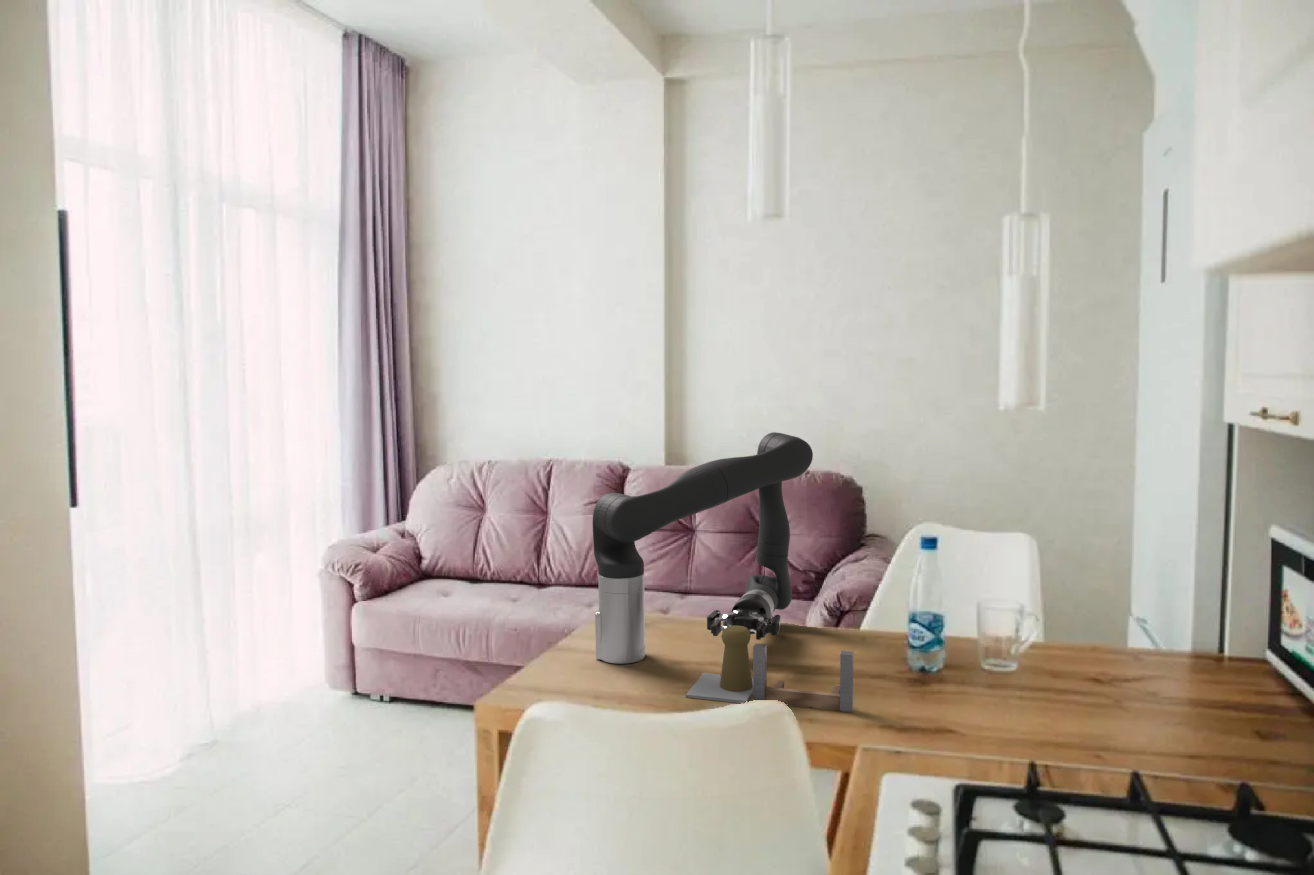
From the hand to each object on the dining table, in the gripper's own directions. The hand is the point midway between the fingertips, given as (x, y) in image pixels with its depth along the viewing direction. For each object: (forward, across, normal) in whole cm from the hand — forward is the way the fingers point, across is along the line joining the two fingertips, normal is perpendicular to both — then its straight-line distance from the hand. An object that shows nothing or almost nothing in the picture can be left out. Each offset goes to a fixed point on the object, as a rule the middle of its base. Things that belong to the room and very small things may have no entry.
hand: (736, 632), depth 179 cm
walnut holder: (+11, +15, +8) cm, 20 cm away
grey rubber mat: (+10, 0, +8) cm, 13 cm away
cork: (+10, +2, +7) cm, 12 cm away
